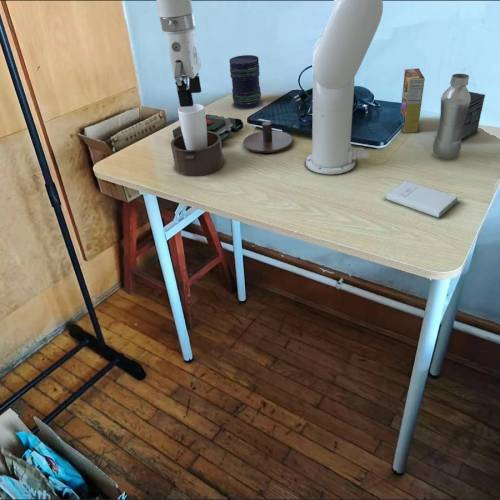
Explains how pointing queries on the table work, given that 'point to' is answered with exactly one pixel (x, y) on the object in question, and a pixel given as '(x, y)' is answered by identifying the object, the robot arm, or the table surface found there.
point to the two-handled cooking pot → (198, 156)
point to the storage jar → (245, 81)
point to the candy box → (412, 99)
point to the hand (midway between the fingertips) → (191, 99)
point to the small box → (472, 115)
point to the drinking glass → (193, 126)
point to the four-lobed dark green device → (218, 126)
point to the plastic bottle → (452, 117)
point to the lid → (267, 140)
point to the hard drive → (422, 198)
